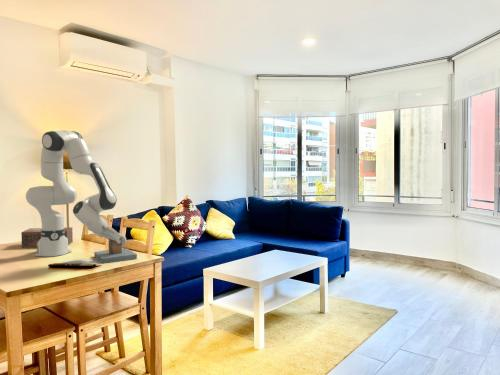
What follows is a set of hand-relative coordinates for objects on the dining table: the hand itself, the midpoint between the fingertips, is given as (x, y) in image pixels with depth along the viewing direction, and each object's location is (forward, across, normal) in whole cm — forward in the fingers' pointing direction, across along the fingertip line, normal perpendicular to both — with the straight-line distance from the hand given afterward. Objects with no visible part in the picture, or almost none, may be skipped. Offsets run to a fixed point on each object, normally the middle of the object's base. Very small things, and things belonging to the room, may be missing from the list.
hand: (116, 241), depth 213 cm
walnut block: (+4, 0, +5) cm, 6 cm away
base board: (+6, 0, +7) cm, 9 cm away
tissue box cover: (-2, +62, +16) cm, 64 cm away
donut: (+14, +18, -1) cm, 23 cm away
